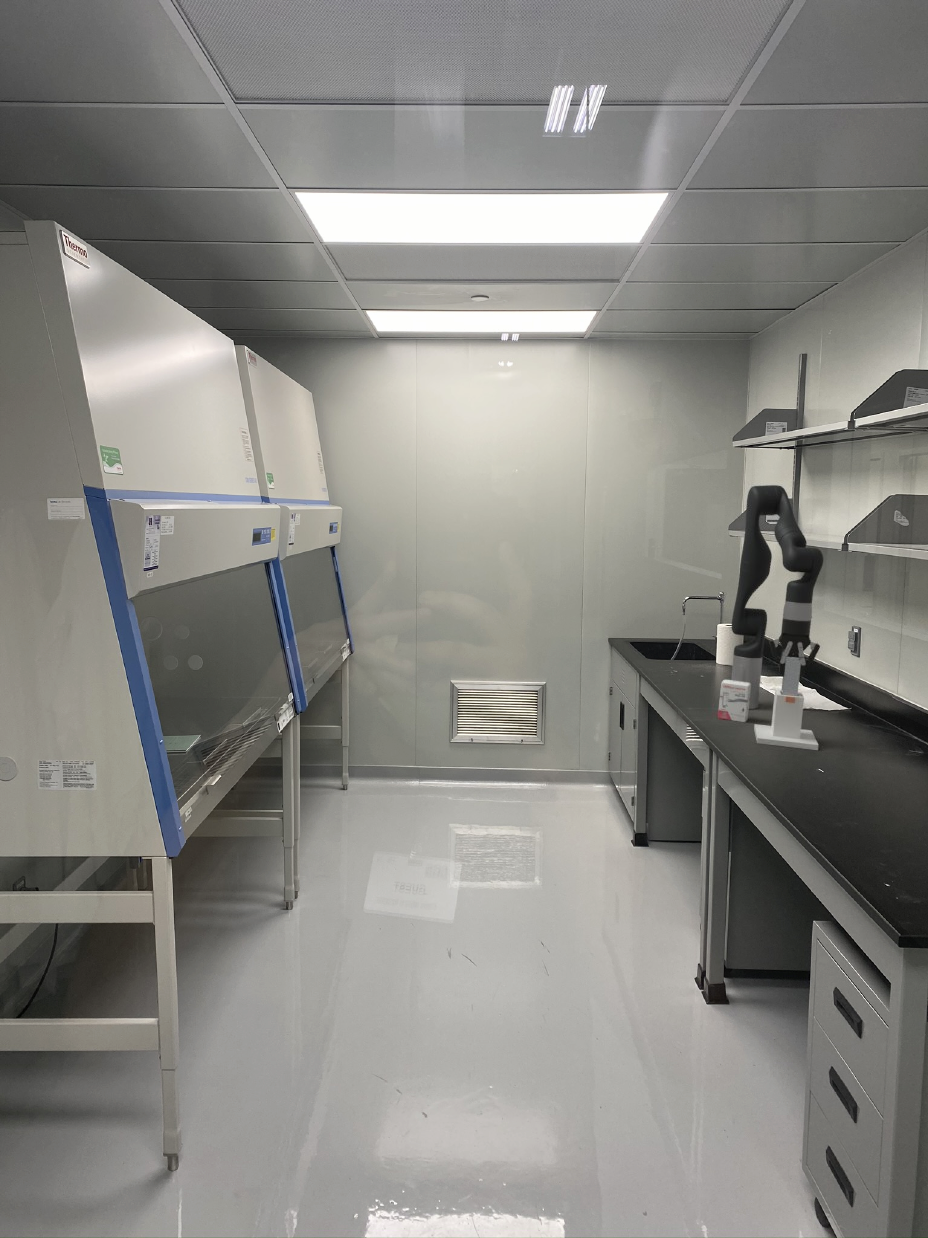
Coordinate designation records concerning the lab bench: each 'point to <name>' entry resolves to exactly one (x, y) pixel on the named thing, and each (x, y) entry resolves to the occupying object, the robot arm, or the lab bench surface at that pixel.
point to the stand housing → (786, 724)
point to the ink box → (734, 700)
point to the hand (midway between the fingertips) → (790, 676)
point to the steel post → (791, 676)
